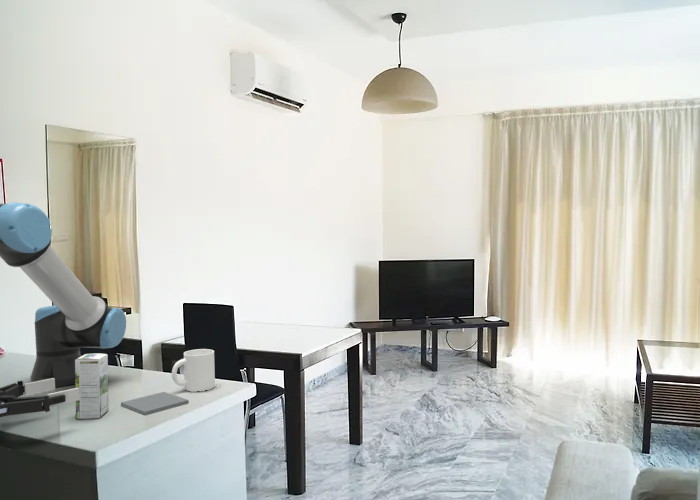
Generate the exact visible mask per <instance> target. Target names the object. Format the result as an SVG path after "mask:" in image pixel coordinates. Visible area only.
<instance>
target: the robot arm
mask: <svg viewBox="0 0 700 500" xmlns="http://www.w3.org/2000/svg"><path fill="white" fill-rule="evenodd" d="M50 226H51V221H50V219H49V217H48V216H47V214H46V213H45V212H44V211H43V210H42V209H41V208H40V207H38V206H37V205H34V204H30V203H24V202H8V203H7V202H6V203H0V259H2V260H3V261H4V262H5V264H7V265H8V266H9V267H12V268H20V269H21V270H22V272H24V274H26V276H27V277H28V278H29V279H30V280H31V281H32V282H33V283H34V284H35V286H37V287H38V289H39V290H40V291H41V292H42V293H43V294H44V295H45V297H47V298H48V299H49V300H50V301H51V302H52V304H53V305H48V306H43V307H39V308H37V309H36V311H35V313H34V314H35V315H34V317H35V318H34V333H35V334H34V336H35V352H36V354H35V355H36V359H35V362H34V364H33V368H32V371H31V374H30V378H29V379H30V380H29V382H27V383H24V380H18V381H17V383H16V382H15V383H11V384H8V385H5V386H4V385H3V386H2V387H0V418H3V417H9V416H15V415H16V416H17V415H23V414H33V413H41V412H45V413H49V412H50V408H51V407H57V406H60V405H64V404H69V403H72V402H76V401H78V400H80V397H79V388H69V389H65V390H60V391H56V392H55V390H56V388H59V387H60V388H61V387H66V386H71V385H75V360H76V359H78V358H79V357H81V356H82V355H81V354H82V353H81V348H89V349H90V348H92V349H103V350H105V349H112V348H114V347H117V346H118V345H119V344H120V343H121V342H122V340H123V338H124V336H125V333H126V330H127V329H126V328H127V318H126V314H125V312H124V311H123V309H121V308H119V307H110V306H109V305H108V304H107V303H106V302H105V301H104V299H102V298H101V297H100V296H93V295H92V294H91V292H90V291H89V290H88V289H87V288H86V287H85V286H84V284H83V283H82V282H81V281H80V280H79V279H78V277H77V276H76V275H75V273H73V271H72V270H71V269H70V268H69V266H67V264H66V263H65V262H64V261H63V259H62V258H61V257H60V256H59V255H58V254H57V253H56V251H55V250H54V249H53V248H52V247H51V246H52V241H53V240H52V235H53V229H52V228H50ZM50 391H54V392H51V393H47V394H46V395H41V396H39V395H37V394H40V393H46V392H50ZM32 395H37V396H32Z"/></svg>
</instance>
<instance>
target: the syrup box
mask: <svg viewBox="0 0 700 500" xmlns="http://www.w3.org/2000/svg"><path fill="white" fill-rule="evenodd" d="M108 357H109V356H108V354H107V353H99V352H98V353H96V352H95V353H84V354H83V355H81V357H79V358H78V359H76V360H75V384H74V386H75V388H79V397H80V400H78V401H75V419H76V420H89V419H90V420H93V419H100V418H102V417H103V416H104V415H106V413H107V412H109V365H108V363H109V359H108Z"/></svg>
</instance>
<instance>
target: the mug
mask: <svg viewBox="0 0 700 500" xmlns="http://www.w3.org/2000/svg"><path fill="white" fill-rule="evenodd" d="M182 365H183V373H184V374H183V379H184V380H181V379H179V377H178V374H177V373H178V371H179V370H178V369H179V368H180V367H181V366H182ZM215 370H216V369H215V350H213V349H208V348H198V349H197V348H196V349H191V350H187V351H183V358H181V359H179V360H178V361H176V362H175V363H174V365H173V367H172V370H171V378H172V379H171V380H172V381H173V382H174V384H175V385H177V386H180V387H181V386H182V387H184V388H185V390H186V391H187V392H189V391H190V392H191V393H198V392H197V391H203V392H206V391H205V390H208V391H210V390H209V389H211V390H213V389H214V388H215V385H216V384H215V383H216V377H215V376H216V375H215V374H216V373H215ZM212 388H213V389H212Z"/></svg>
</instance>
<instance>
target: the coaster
mask: <svg viewBox="0 0 700 500" xmlns="http://www.w3.org/2000/svg"><path fill="white" fill-rule="evenodd" d="M189 403H190V402H189V399H187V398H183V397H181V396H178V395H175V394H171V393H169V392H166V391H162V392H157V393H154V394H149V395H144V396H142V397H137V398H134V399H130V400H126V401H121V402H120V407H124V408H126V409H129V410H131V411H134V412H137V413H138V414H142V415H143V416H146V415H151V414H154V413H158V412H160V411H165V410H168V409H173V408H176V407H179V406H182V405H186V404H189Z"/></svg>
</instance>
